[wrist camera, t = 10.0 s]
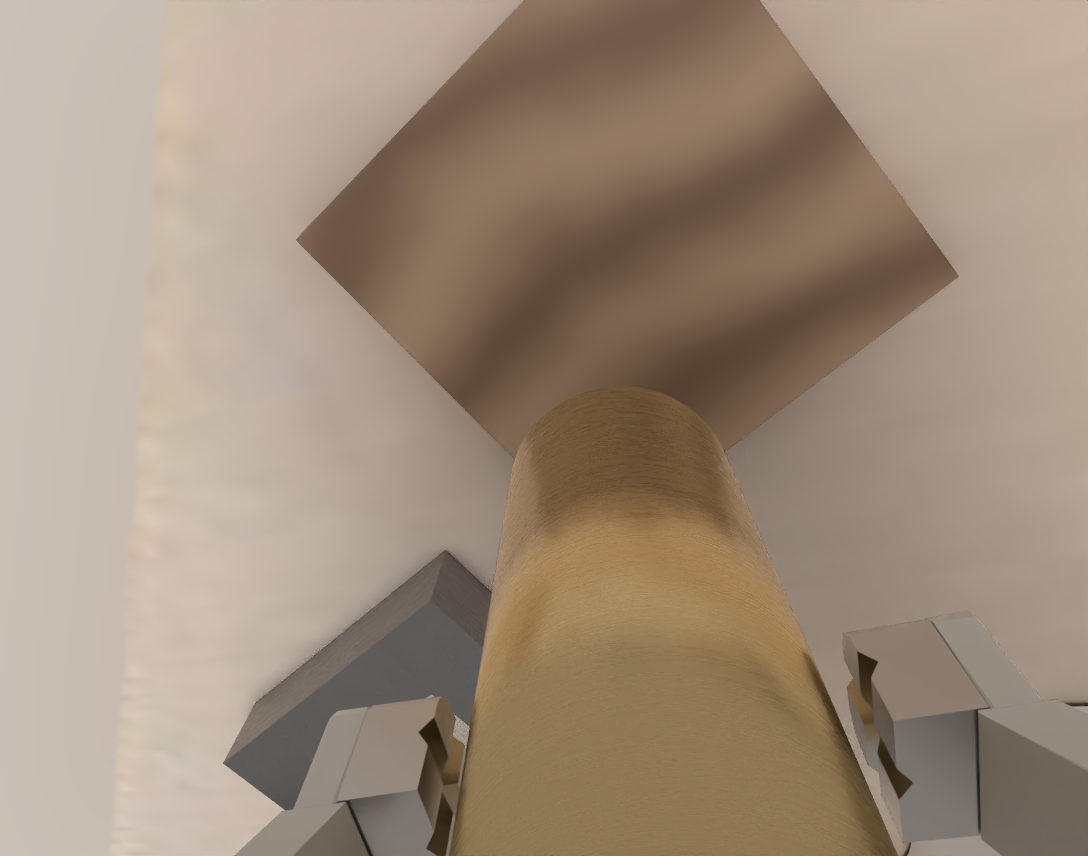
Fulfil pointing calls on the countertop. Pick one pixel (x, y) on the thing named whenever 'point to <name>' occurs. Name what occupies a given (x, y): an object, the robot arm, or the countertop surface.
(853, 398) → the countertop surface
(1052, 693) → the countertop surface
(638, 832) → the brass peg
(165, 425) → the countertop surface
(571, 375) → the walnut board
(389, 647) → the metal socket
